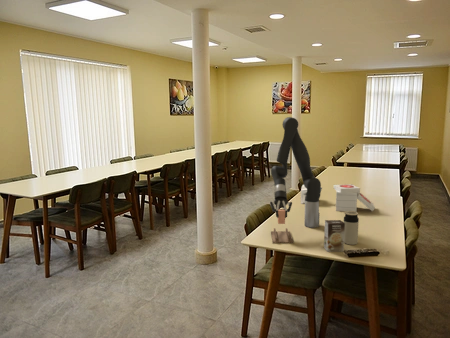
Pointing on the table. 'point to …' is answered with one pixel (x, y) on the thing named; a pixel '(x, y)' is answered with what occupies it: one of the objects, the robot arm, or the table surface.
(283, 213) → the terracotta block
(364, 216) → the table surface
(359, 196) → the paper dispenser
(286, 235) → the walnut rack
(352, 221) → the travel mug
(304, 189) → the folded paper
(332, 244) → the coffee box
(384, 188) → the table surface
